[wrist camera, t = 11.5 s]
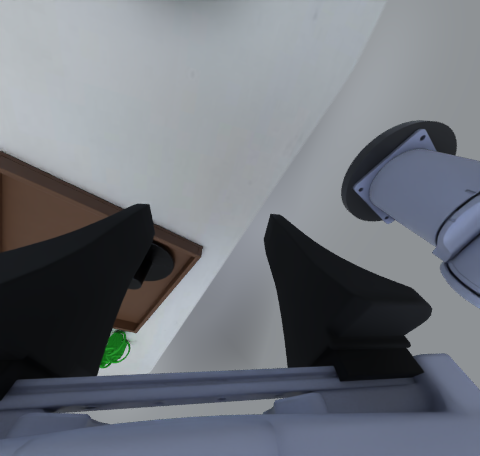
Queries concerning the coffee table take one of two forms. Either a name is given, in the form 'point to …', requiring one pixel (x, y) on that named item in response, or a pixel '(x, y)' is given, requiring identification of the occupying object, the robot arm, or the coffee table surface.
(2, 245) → the tray
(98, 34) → the coffee table surface
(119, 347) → the chandelier
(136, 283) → the lid
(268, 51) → the coffee table surface
